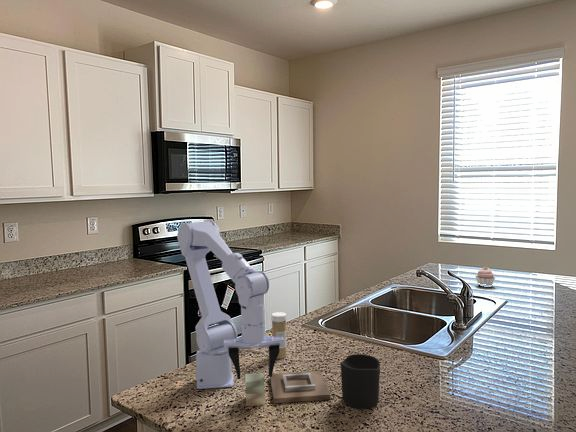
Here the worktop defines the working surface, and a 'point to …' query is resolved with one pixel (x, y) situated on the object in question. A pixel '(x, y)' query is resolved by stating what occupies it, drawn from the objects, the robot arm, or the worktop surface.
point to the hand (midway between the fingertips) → (254, 376)
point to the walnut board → (299, 387)
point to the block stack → (255, 389)
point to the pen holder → (360, 381)
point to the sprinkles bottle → (279, 330)
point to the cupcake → (485, 276)
